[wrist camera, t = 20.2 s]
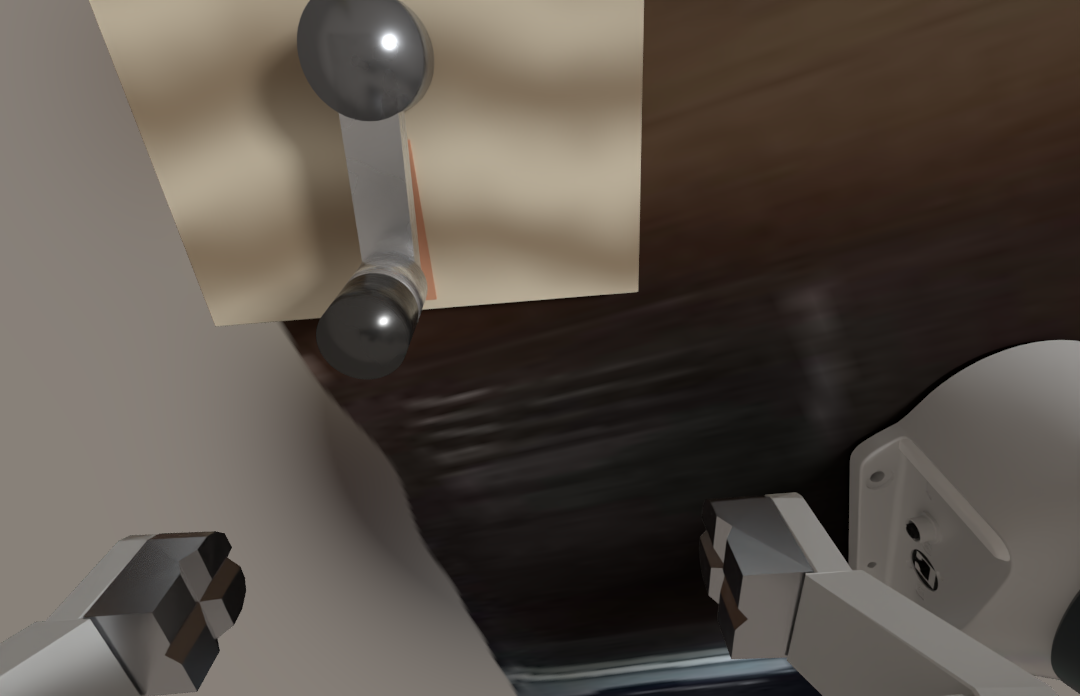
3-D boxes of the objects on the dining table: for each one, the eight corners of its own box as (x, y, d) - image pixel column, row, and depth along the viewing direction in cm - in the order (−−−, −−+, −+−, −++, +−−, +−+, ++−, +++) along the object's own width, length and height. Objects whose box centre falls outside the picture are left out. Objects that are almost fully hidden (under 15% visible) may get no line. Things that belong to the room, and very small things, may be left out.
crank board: (631, 280, 27) (638, 292, 25) (230, 313, 26) (214, 327, 25) (639, -254, 18) (650, -282, 16) (35, -213, 18) (-7, -238, 16)
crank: (315, -8, 19) (205, -52, 12) (429, -7, 19) (384, -49, 12) (364, 291, 24) (306, 380, 17) (452, 290, 24) (430, 378, 18)
